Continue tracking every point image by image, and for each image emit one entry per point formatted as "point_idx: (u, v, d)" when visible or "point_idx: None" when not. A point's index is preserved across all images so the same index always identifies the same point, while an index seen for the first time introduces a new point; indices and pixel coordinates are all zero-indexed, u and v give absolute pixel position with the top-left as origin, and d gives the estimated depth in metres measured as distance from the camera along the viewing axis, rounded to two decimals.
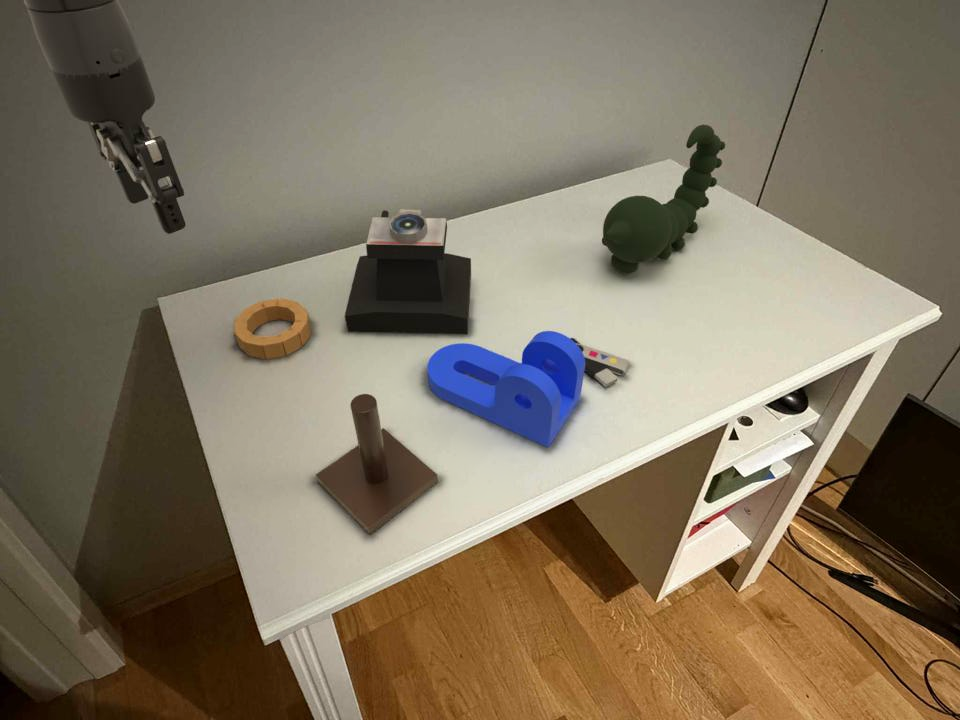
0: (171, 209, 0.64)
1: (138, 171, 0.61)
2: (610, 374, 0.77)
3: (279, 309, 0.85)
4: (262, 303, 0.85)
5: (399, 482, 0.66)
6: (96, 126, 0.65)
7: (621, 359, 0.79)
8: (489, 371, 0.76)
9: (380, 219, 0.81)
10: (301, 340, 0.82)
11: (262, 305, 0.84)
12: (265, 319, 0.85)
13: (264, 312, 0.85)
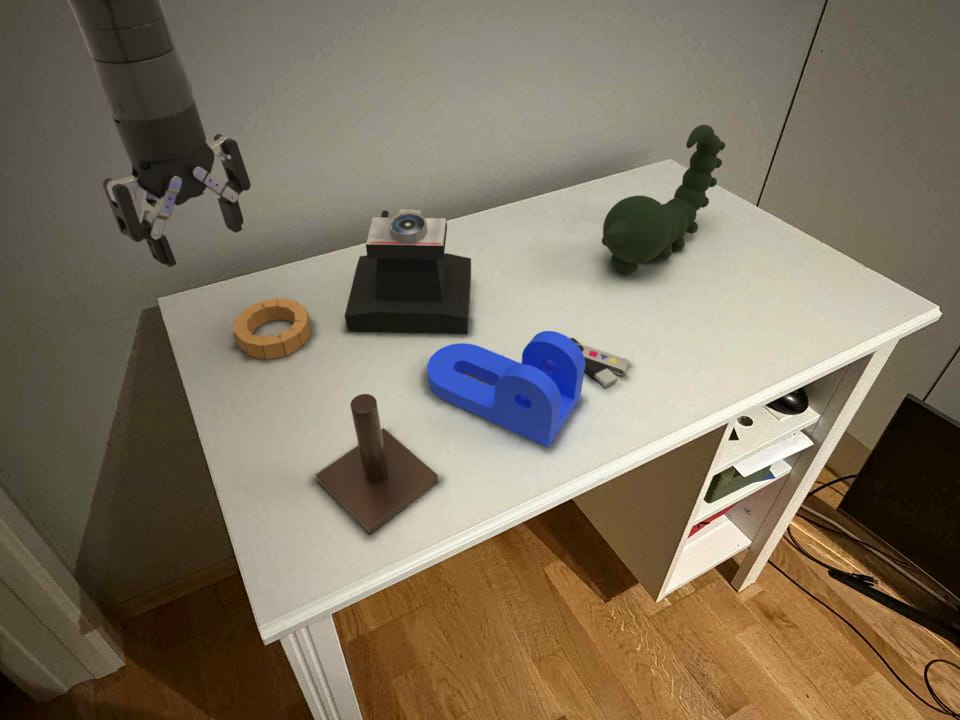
0: (152, 245, 0.66)
1: (145, 201, 0.65)
2: (610, 374, 0.77)
3: (279, 309, 0.85)
4: (262, 303, 0.85)
5: (399, 482, 0.66)
6: None
7: (621, 359, 0.79)
8: (489, 371, 0.76)
9: (380, 219, 0.81)
10: (301, 340, 0.82)
11: (262, 305, 0.84)
12: (265, 319, 0.85)
13: (264, 312, 0.85)
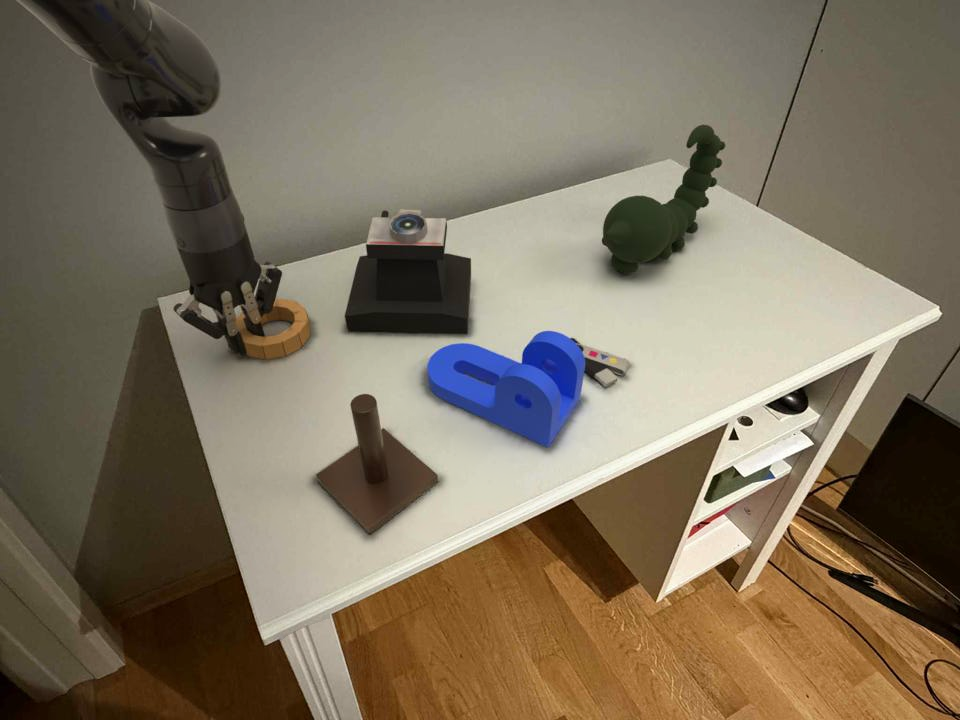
0: (228, 339, 0.79)
1: (214, 308, 0.77)
2: (610, 374, 0.77)
3: (279, 309, 0.85)
4: None
5: (399, 482, 0.66)
6: None
7: (621, 359, 0.79)
8: (489, 371, 0.76)
9: (380, 219, 0.81)
10: (301, 340, 0.82)
11: None
12: (265, 319, 0.85)
13: None
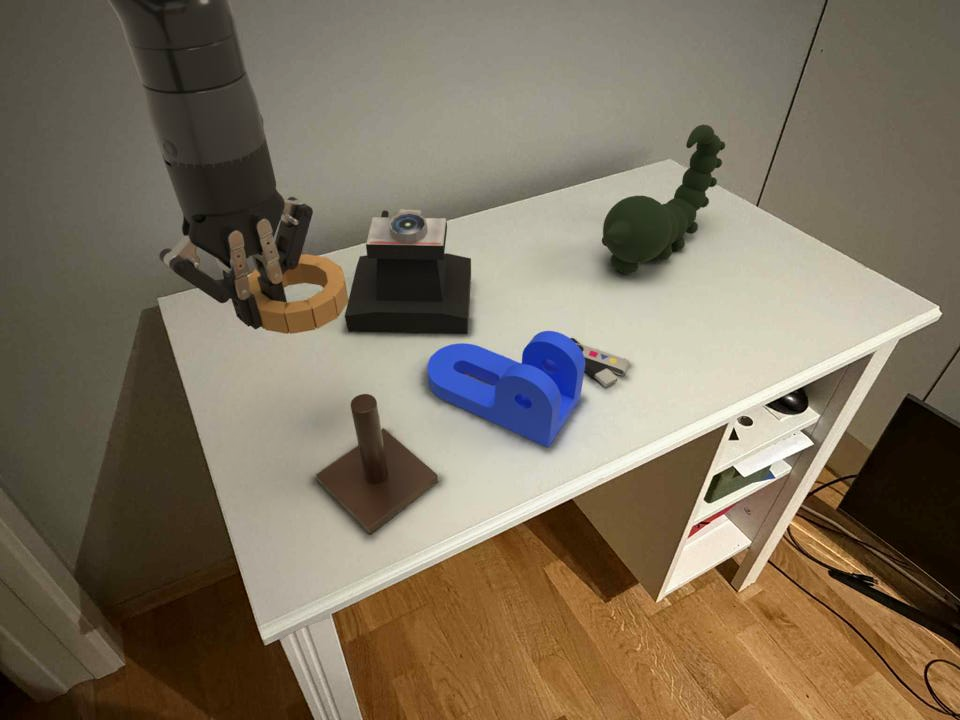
0: (237, 305, 0.56)
1: (217, 260, 0.54)
2: (610, 374, 0.77)
3: (304, 268, 0.62)
4: None
5: (399, 482, 0.66)
6: None
7: (621, 359, 0.79)
8: (489, 371, 0.76)
9: (380, 219, 0.81)
10: (337, 308, 0.59)
11: None
12: (285, 282, 0.63)
13: None
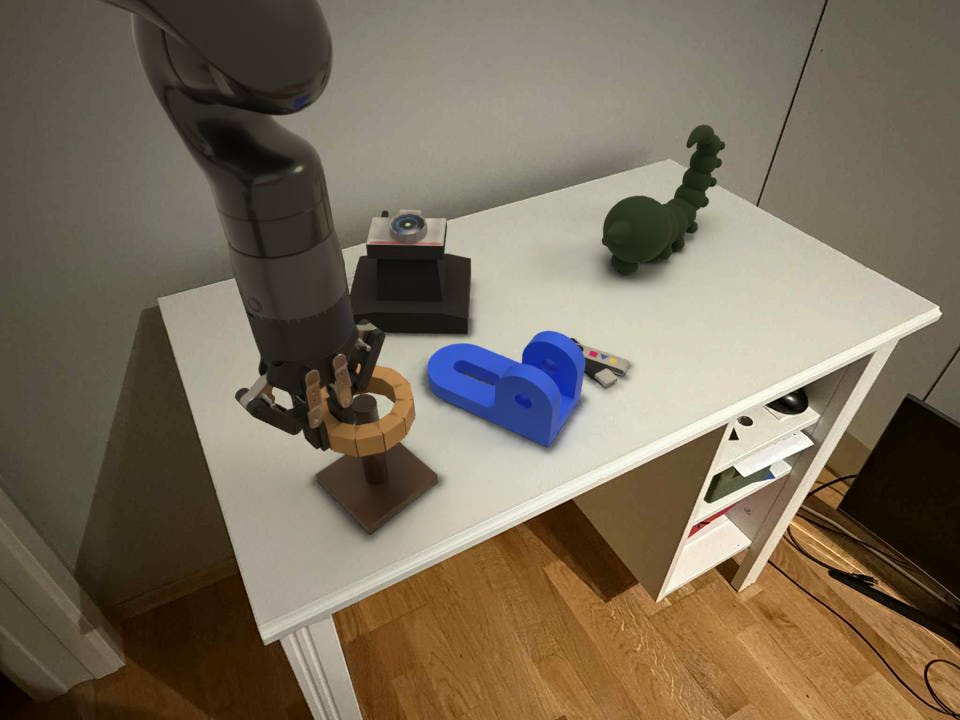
0: (307, 430, 0.55)
1: None
2: (610, 374, 0.77)
3: None
4: None
5: (399, 482, 0.66)
6: None
7: (621, 359, 0.79)
8: (489, 371, 0.76)
9: (380, 219, 0.81)
10: (406, 428, 0.58)
11: None
12: None
13: None
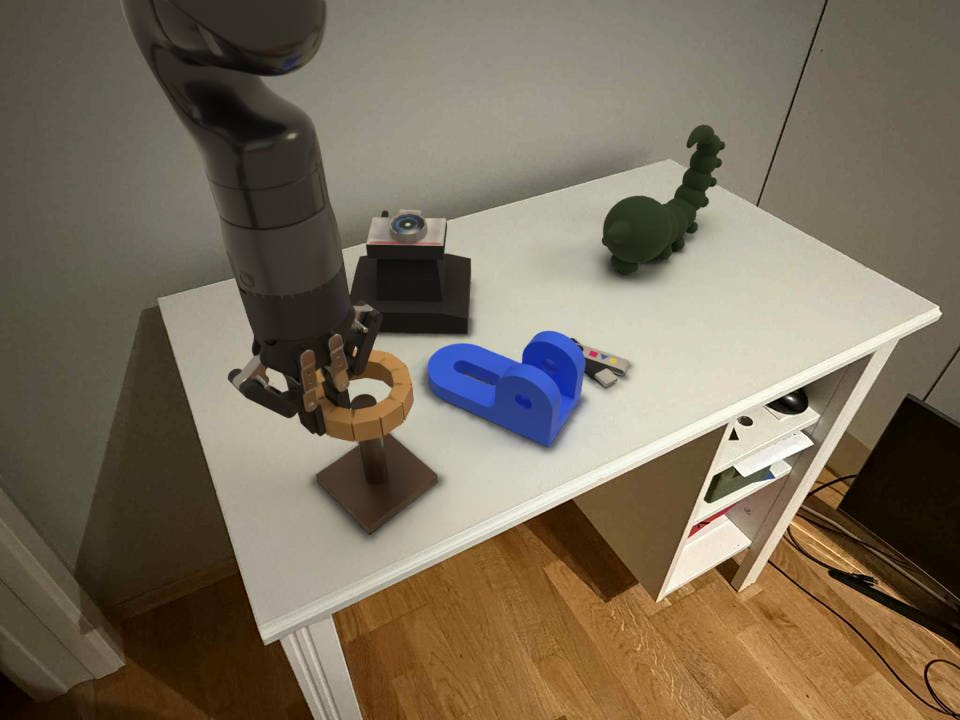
0: (303, 414, 0.53)
1: None
2: (610, 374, 0.77)
3: (367, 365, 0.59)
4: None
5: (399, 482, 0.66)
6: None
7: (621, 359, 0.79)
8: (489, 371, 0.76)
9: (380, 219, 0.81)
10: (404, 413, 0.56)
11: None
12: None
13: None
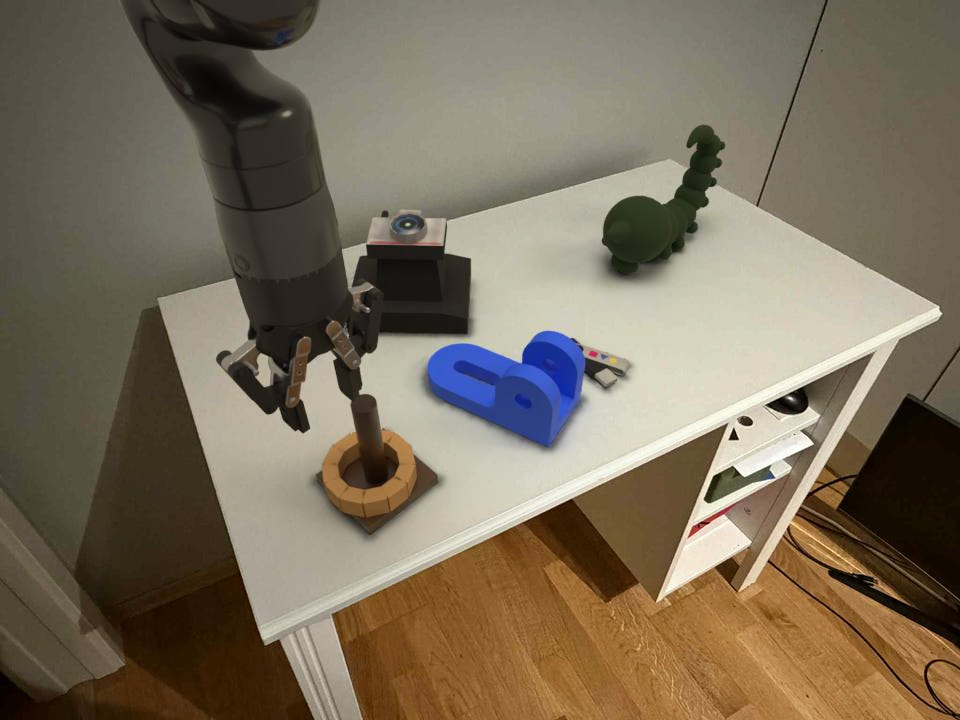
0: (284, 410, 0.52)
1: (272, 362, 0.50)
2: (610, 374, 0.77)
3: None
4: (353, 436, 0.67)
5: None
6: None
7: (621, 359, 0.79)
8: (489, 371, 0.76)
9: (380, 219, 0.81)
10: (408, 490, 0.64)
11: (354, 439, 0.66)
12: (357, 455, 0.67)
13: (356, 448, 0.67)
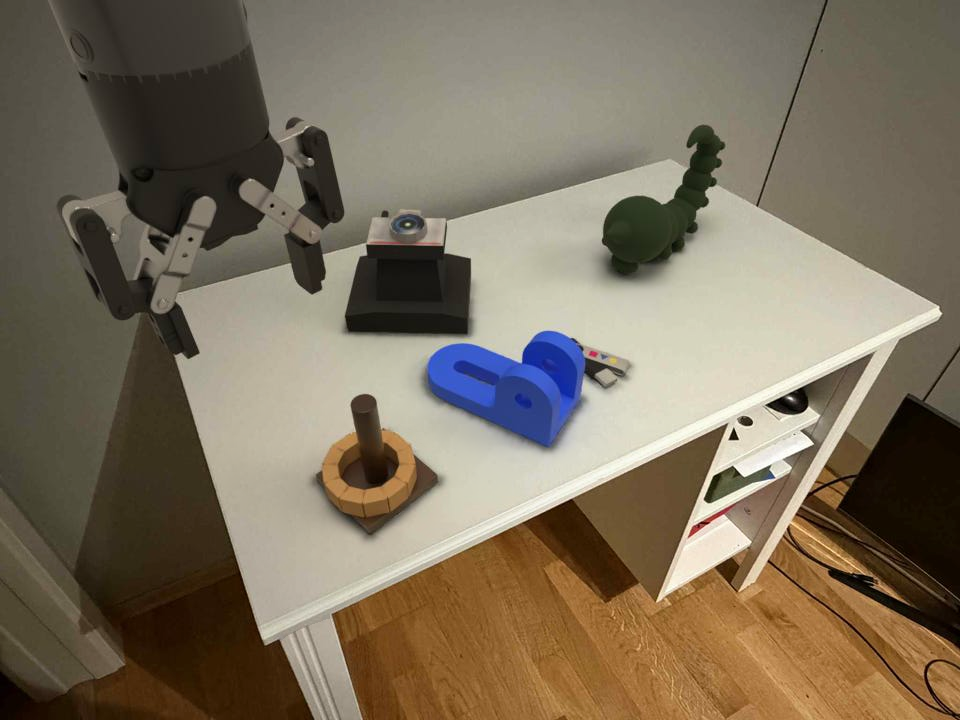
0: (155, 322, 0.35)
1: (146, 240, 0.34)
2: (610, 374, 0.77)
3: None
4: (353, 436, 0.67)
5: None
6: None
7: (621, 359, 0.79)
8: (489, 371, 0.76)
9: (380, 219, 0.81)
10: (408, 490, 0.64)
11: (354, 439, 0.66)
12: (357, 455, 0.67)
13: (356, 448, 0.67)
